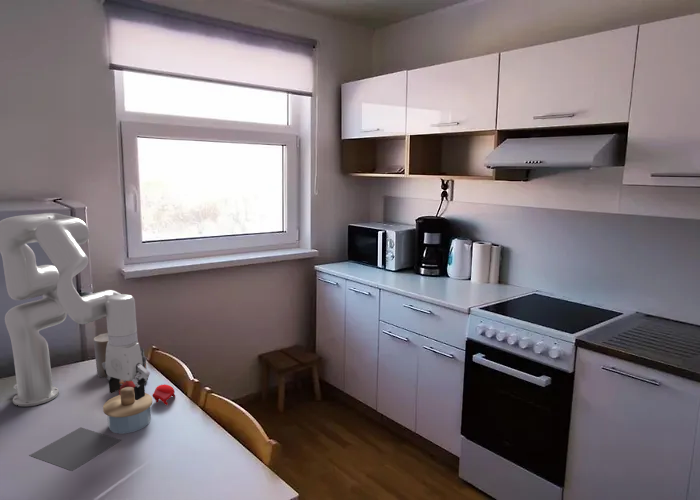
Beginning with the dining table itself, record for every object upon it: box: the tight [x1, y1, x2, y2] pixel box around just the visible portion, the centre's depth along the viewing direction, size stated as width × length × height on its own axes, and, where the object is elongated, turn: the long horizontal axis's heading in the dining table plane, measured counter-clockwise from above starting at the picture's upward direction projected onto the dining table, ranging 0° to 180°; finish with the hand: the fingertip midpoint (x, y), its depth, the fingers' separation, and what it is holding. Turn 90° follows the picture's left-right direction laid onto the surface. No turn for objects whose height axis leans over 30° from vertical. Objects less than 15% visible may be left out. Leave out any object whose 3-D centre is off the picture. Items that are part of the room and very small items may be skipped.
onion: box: [118, 381, 135, 395], centre depth 157 cm, size 6×6×8 cm
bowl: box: [107, 406, 152, 434], centre depth 144 cm, size 11×11×6 cm
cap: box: [151, 384, 177, 406], centre depth 158 cm, size 8×6×6 cm
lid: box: [102, 387, 153, 417], centre depth 143 cm, size 13×13×5 cm
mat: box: [29, 427, 122, 472], centre depth 132 cm, size 16×15×1 cm
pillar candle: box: [93, 332, 108, 379], centre depth 178 cm, size 10×10×15 cm
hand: (127, 394), depth 143 cm, fingers open, 9 cm apart
